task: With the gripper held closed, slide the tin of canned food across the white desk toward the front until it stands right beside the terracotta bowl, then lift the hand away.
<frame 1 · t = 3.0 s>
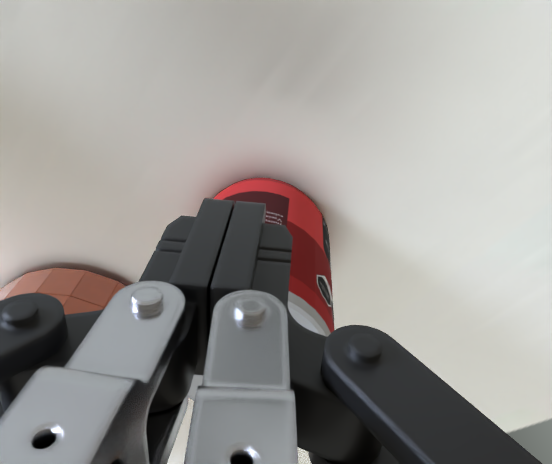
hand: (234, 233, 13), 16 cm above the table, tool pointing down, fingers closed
bowl: (87, 339, 37), on the table
canned food: (266, 229, 31), on the table
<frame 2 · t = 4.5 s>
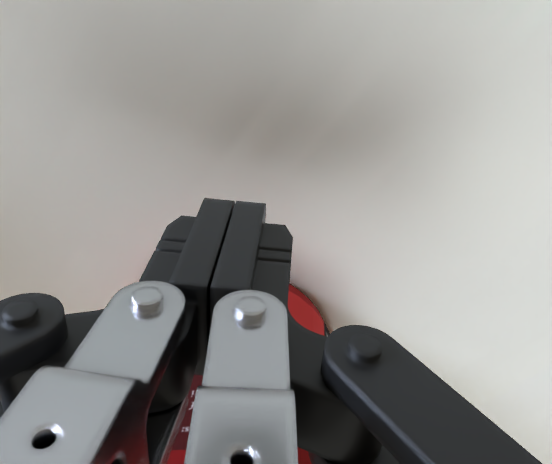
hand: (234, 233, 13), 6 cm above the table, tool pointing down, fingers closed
canned food: (245, 332, 22), on the table
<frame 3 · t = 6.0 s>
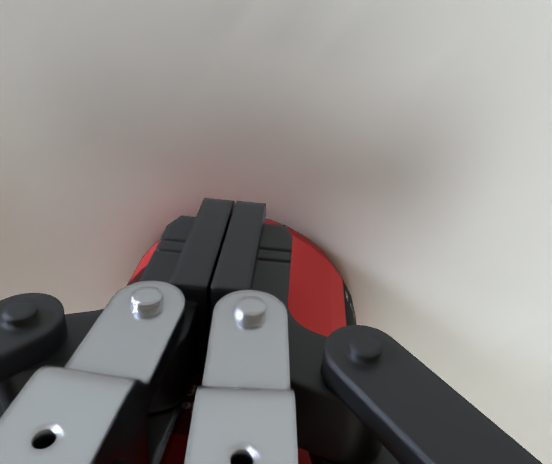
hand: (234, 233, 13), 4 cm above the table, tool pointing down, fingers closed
canned food: (245, 299, 18), on the table, touching gripper
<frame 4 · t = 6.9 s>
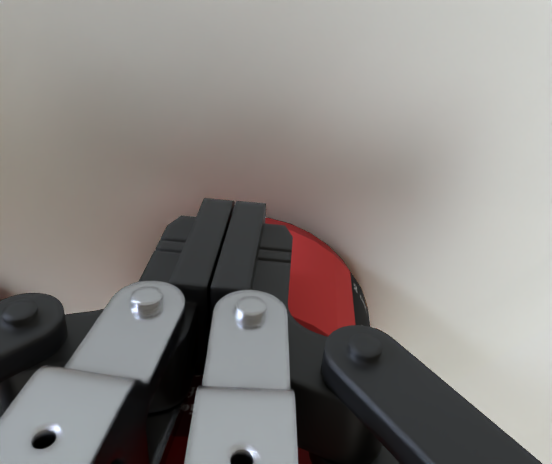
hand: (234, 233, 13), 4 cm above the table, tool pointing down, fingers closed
canned food: (257, 300, 18), on the table, touching gripper
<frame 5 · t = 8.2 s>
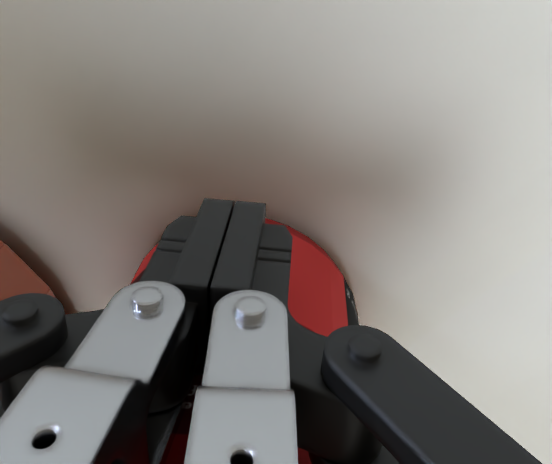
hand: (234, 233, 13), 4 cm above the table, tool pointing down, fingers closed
canned food: (247, 298, 18), on the table, touching gripper
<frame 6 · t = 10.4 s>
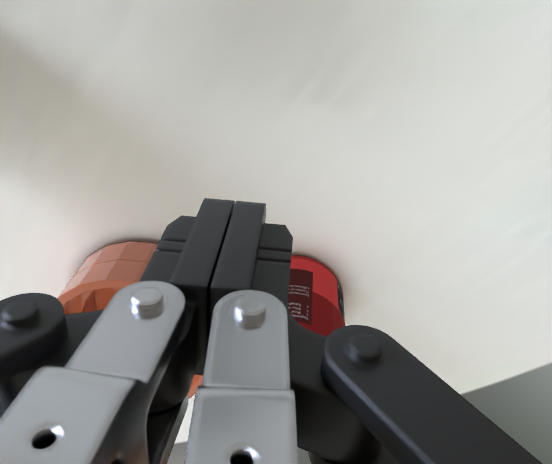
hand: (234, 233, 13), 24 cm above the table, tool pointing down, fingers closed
bowl: (150, 302, 45), on the table
canned food: (297, 289, 43), on the table
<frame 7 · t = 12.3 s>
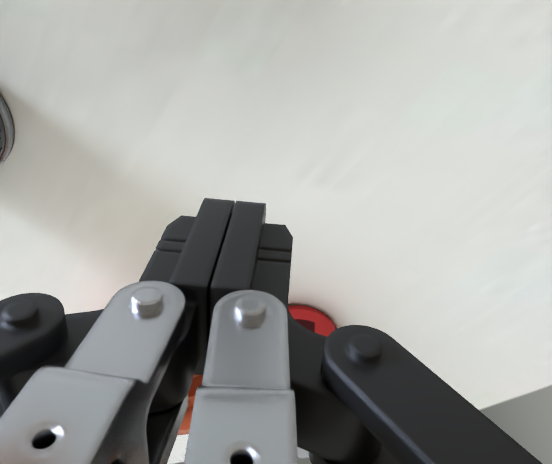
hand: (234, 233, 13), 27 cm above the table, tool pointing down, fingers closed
bowl: (171, 341, 51), on the table
canned food: (300, 332, 50), on the table
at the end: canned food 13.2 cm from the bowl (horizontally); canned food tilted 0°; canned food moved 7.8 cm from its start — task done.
